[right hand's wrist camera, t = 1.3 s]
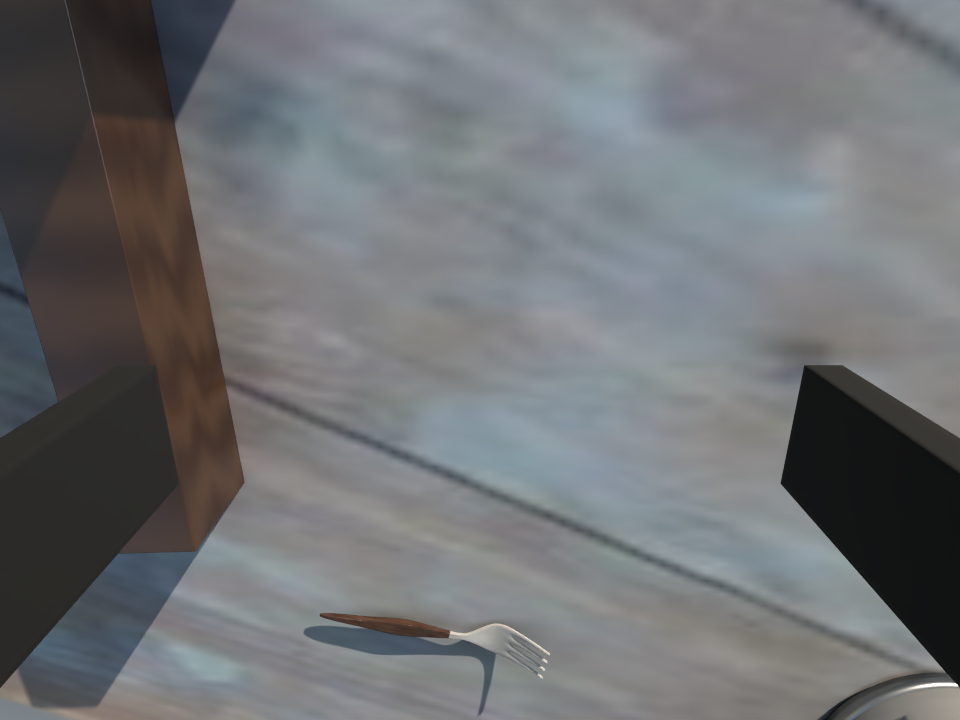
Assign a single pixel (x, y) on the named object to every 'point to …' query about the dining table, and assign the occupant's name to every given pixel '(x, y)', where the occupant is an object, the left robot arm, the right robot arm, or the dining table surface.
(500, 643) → the fork
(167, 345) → the plank
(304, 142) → the dining table surface
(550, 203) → the dining table surface
